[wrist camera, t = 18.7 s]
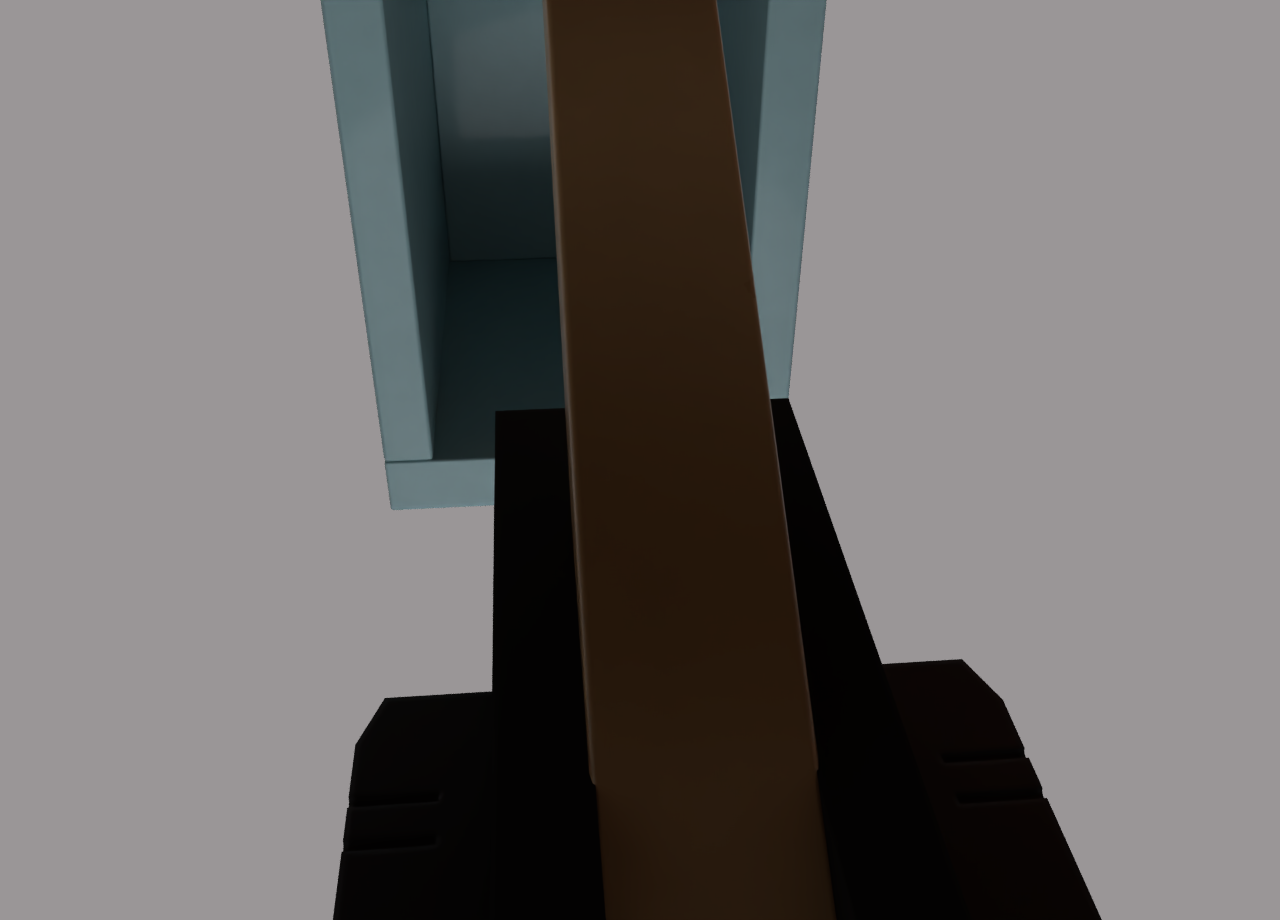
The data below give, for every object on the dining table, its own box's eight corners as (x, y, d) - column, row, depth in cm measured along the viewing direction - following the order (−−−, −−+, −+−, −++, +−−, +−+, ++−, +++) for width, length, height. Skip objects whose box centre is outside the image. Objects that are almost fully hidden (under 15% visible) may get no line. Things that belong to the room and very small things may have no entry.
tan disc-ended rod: (293, 1445, 7) (344, 1365, 9) (1212, 1345, 8) (1103, 1287, 9) (358, -477, 15) (379, -337, 16) (807, -472, 15) (786, -335, 17)
